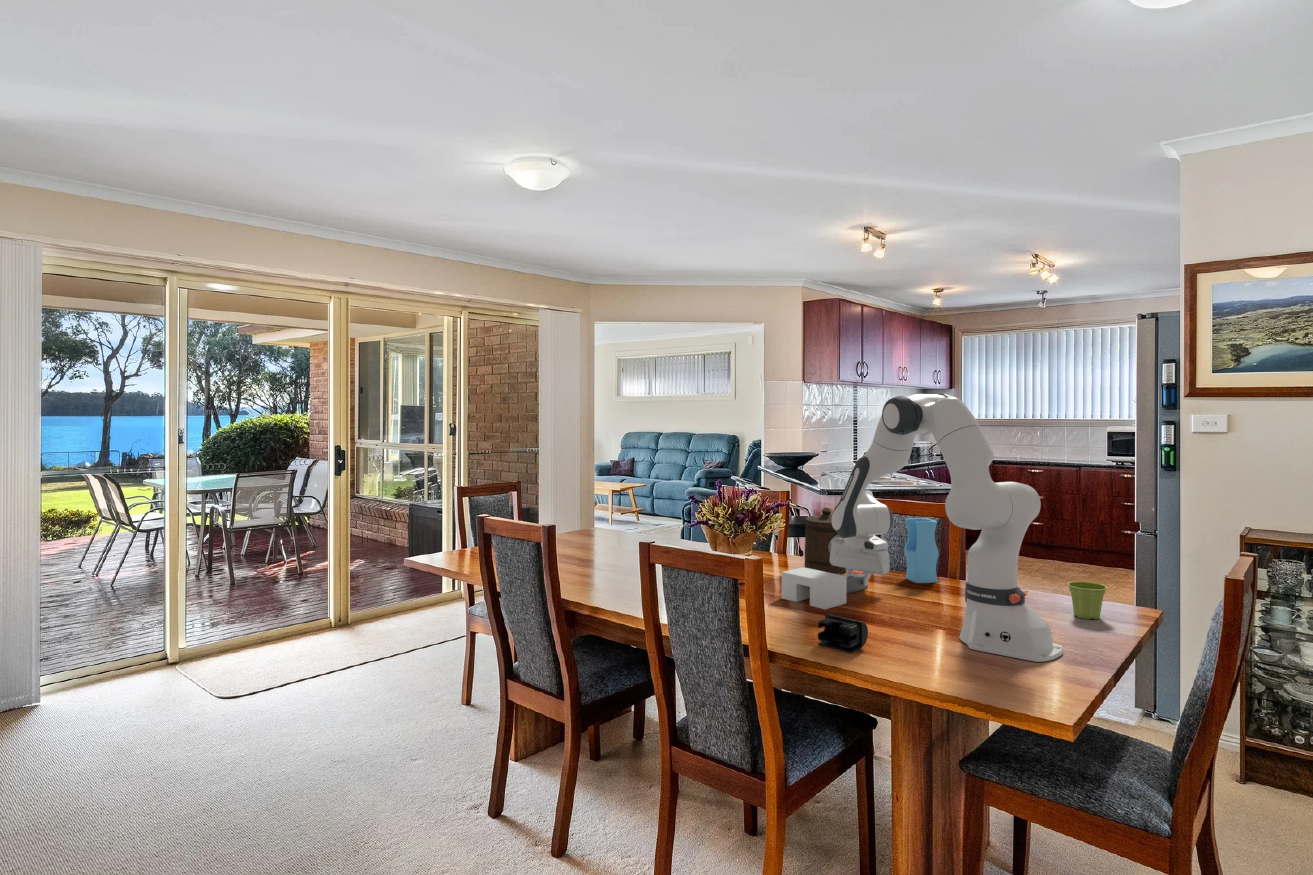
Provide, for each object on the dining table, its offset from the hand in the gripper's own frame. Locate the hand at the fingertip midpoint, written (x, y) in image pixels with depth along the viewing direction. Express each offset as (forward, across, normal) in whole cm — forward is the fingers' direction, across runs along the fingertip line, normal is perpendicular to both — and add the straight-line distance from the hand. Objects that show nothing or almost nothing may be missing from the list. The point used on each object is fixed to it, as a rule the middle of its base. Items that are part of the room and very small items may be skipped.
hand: (858, 583), depth 232 cm
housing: (+2, 0, -22) cm, 23 cm away
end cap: (+2, +30, -50) cm, 59 cm away
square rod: (+2, 0, -10) cm, 10 cm away
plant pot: (+2, +59, +21) cm, 62 cm away
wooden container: (+2, -23, +14) cm, 27 cm away
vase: (+2, +7, +26) cm, 26 cm away
